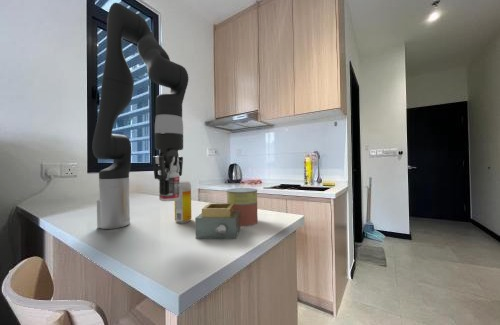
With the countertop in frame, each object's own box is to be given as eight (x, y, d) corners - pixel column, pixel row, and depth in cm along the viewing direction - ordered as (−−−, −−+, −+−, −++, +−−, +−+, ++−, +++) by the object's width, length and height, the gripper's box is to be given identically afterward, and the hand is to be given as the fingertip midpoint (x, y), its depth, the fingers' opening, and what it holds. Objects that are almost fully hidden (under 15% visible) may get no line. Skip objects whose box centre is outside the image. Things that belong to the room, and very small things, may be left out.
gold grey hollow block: (193, 240, 61) (192, 211, 61) (205, 227, 73) (204, 202, 73) (234, 241, 60) (234, 211, 60) (240, 228, 72) (239, 202, 72)
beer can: (193, 219, 85) (193, 181, 84) (187, 223, 78) (187, 182, 78) (179, 218, 85) (178, 181, 85) (172, 223, 79) (171, 182, 79)
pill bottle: (179, 201, 59) (179, 165, 58) (158, 202, 57) (157, 165, 57) (179, 197, 64) (179, 165, 64) (160, 198, 62) (160, 165, 62)
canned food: (262, 220, 82) (262, 188, 82) (249, 228, 71) (248, 192, 71) (236, 217, 87) (236, 187, 86) (221, 224, 76) (220, 191, 76)
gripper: (168, 135, 68) (168, 189, 68) (141, 129, 53) (142, 197, 54) (191, 135, 67) (191, 189, 67) (170, 129, 53) (170, 197, 53)
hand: (169, 192), depth 60 cm, fingers closed on pill bottle, 5 cm apart
